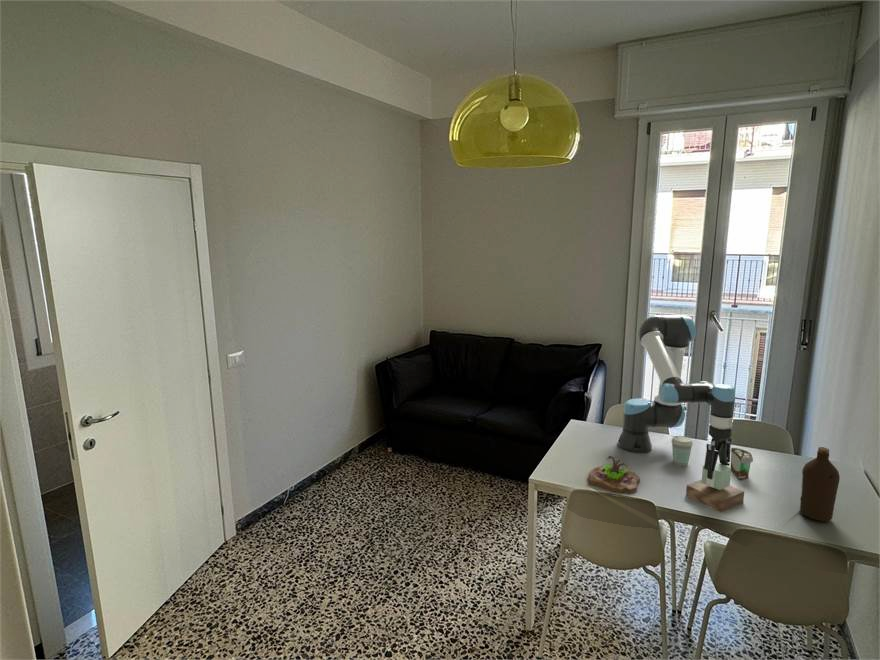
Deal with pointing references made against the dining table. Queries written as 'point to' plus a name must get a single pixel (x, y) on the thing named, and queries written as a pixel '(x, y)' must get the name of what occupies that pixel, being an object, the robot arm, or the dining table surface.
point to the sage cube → (719, 476)
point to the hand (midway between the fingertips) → (715, 483)
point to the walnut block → (715, 496)
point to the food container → (740, 463)
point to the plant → (614, 478)
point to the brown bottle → (819, 487)
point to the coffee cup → (681, 450)
